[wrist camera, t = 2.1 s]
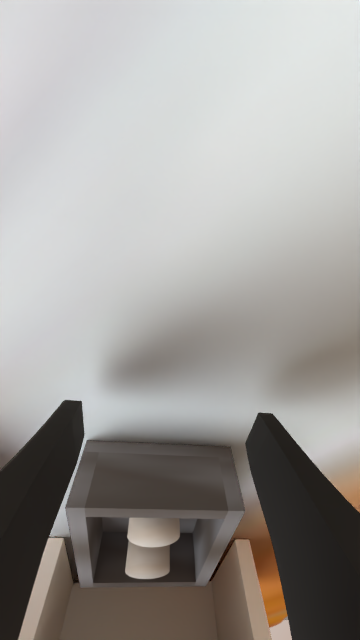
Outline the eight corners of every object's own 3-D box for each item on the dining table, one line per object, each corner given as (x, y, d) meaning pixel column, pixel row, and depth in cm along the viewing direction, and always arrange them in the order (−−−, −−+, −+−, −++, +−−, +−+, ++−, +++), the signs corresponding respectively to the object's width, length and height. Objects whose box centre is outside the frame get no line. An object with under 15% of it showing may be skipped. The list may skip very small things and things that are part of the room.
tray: (199, 521, 19) (205, 586, 16) (95, 520, 18) (80, 587, 15) (229, 441, 14) (245, 511, 11) (88, 434, 13) (65, 507, 10)
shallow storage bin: (220, 585, 25) (240, 737, 18) (61, 586, 24) (16, 754, 17) (249, 539, 20) (291, 728, 13) (47, 537, 18) (-27, 752, 11)
